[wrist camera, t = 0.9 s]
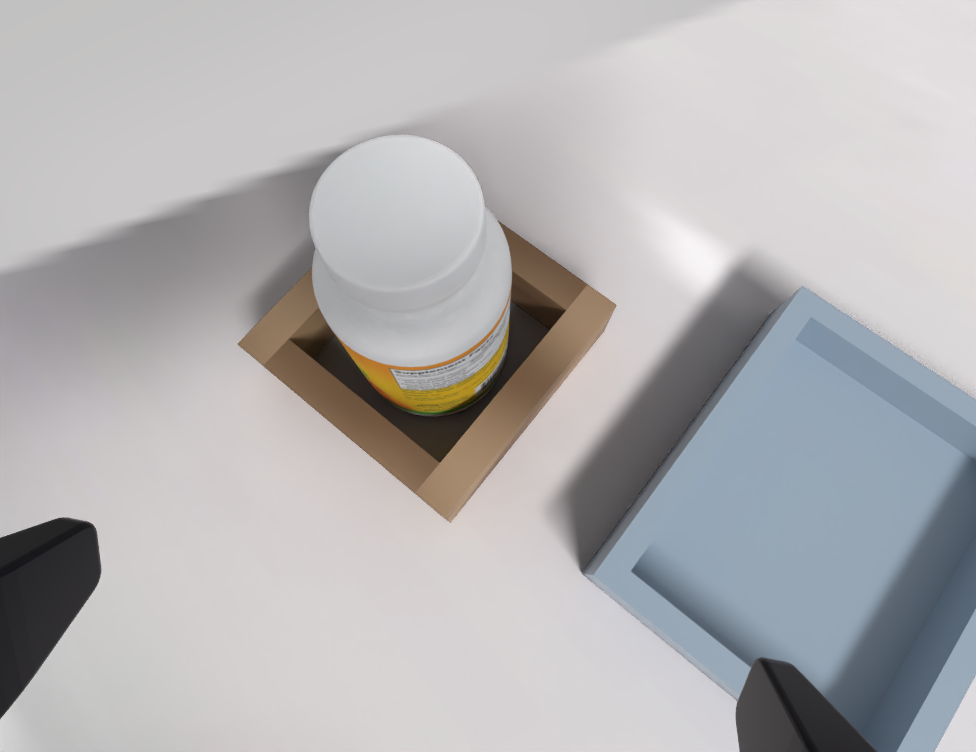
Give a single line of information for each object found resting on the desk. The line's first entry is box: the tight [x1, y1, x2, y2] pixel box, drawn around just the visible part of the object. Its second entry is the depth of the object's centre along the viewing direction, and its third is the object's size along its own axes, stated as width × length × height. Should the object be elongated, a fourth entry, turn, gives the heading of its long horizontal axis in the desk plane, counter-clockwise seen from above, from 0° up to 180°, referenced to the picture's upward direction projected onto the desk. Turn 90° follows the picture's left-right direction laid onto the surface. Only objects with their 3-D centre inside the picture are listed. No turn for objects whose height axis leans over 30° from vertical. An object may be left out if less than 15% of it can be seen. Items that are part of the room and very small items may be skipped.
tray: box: [582, 286, 976, 752], centre depth 20 cm, size 12×10×2 cm
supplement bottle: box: [309, 135, 512, 416], centre depth 18 cm, size 5×5×10 cm
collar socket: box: [238, 221, 616, 522], centre depth 22 cm, size 9×9×2 cm
